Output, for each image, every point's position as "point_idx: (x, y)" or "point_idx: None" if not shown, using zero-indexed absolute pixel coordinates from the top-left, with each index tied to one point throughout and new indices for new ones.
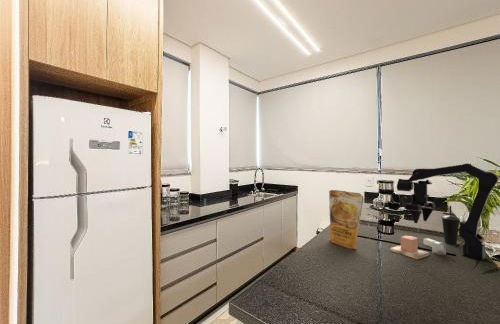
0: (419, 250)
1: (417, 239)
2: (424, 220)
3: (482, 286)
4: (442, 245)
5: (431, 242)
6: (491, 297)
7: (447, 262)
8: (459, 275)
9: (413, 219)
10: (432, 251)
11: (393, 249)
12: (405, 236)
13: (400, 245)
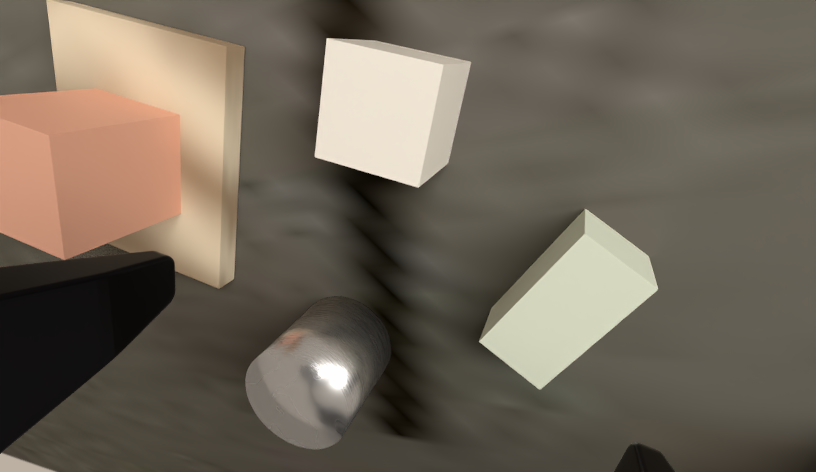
0: (207, 222)
1: (73, 253)
2: (621, 469)
3: (63, 449)
4: (266, 416)
5: (501, 314)
6: (12, 450)
7: (201, 373)
8: (84, 399)
9: (46, 266)
10: (319, 303)
11: (55, 33)
12: (7, 137)
13: (194, 43)
